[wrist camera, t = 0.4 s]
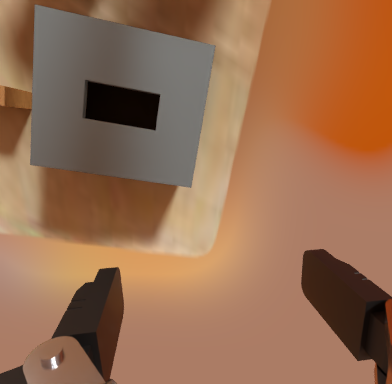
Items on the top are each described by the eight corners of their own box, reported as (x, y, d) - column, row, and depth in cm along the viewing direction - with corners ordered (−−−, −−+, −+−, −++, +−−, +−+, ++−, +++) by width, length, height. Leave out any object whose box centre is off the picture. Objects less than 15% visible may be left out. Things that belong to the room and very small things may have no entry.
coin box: (73, 40, 32) (34, 4, 23) (201, 67, 35) (215, 45, 25) (66, 153, 35) (30, 164, 26) (184, 171, 38) (191, 187, 28)
